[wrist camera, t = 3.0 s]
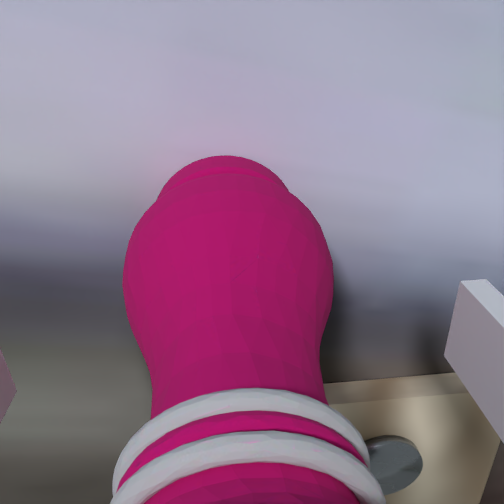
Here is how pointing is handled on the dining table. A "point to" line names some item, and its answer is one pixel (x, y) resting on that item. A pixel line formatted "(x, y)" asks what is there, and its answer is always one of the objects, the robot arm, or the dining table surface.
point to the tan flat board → (425, 432)
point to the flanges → (394, 462)
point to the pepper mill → (235, 348)
